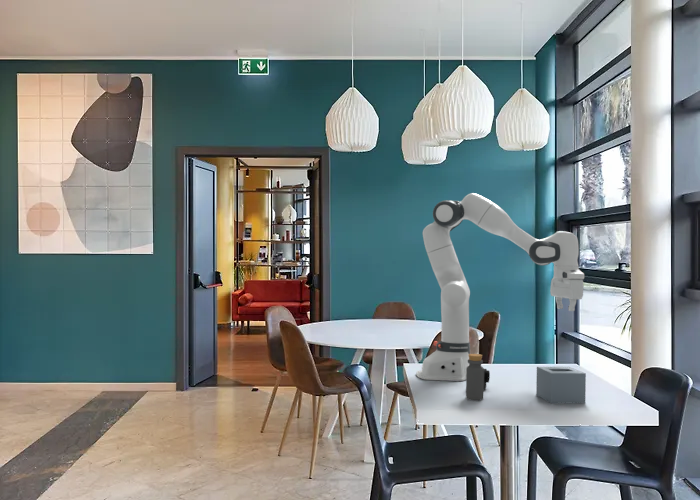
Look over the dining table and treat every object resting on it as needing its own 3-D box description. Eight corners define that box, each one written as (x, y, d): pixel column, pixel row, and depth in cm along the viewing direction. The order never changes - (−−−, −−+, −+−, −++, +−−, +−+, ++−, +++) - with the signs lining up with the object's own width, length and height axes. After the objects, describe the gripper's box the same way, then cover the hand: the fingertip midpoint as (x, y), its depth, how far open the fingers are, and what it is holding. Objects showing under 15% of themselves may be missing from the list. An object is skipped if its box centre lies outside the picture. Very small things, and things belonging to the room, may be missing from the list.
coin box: (550, 403, 196) (551, 373, 196) (536, 394, 207) (536, 366, 208) (585, 403, 197) (585, 373, 197) (568, 394, 209) (569, 366, 209)
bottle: (480, 401, 196) (480, 356, 197) (463, 399, 199) (464, 355, 200) (485, 398, 201) (486, 354, 201) (469, 395, 204) (470, 352, 205)
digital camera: (484, 393, 209) (485, 373, 209) (469, 391, 211) (470, 372, 211) (489, 387, 219) (489, 368, 219) (475, 386, 221) (475, 367, 221)
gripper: (546, 272, 234) (546, 307, 233) (570, 274, 213) (569, 312, 213) (561, 273, 234) (561, 307, 234) (586, 274, 214) (586, 312, 214)
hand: (565, 309), depth 223 cm, fingers open, 8 cm apart
